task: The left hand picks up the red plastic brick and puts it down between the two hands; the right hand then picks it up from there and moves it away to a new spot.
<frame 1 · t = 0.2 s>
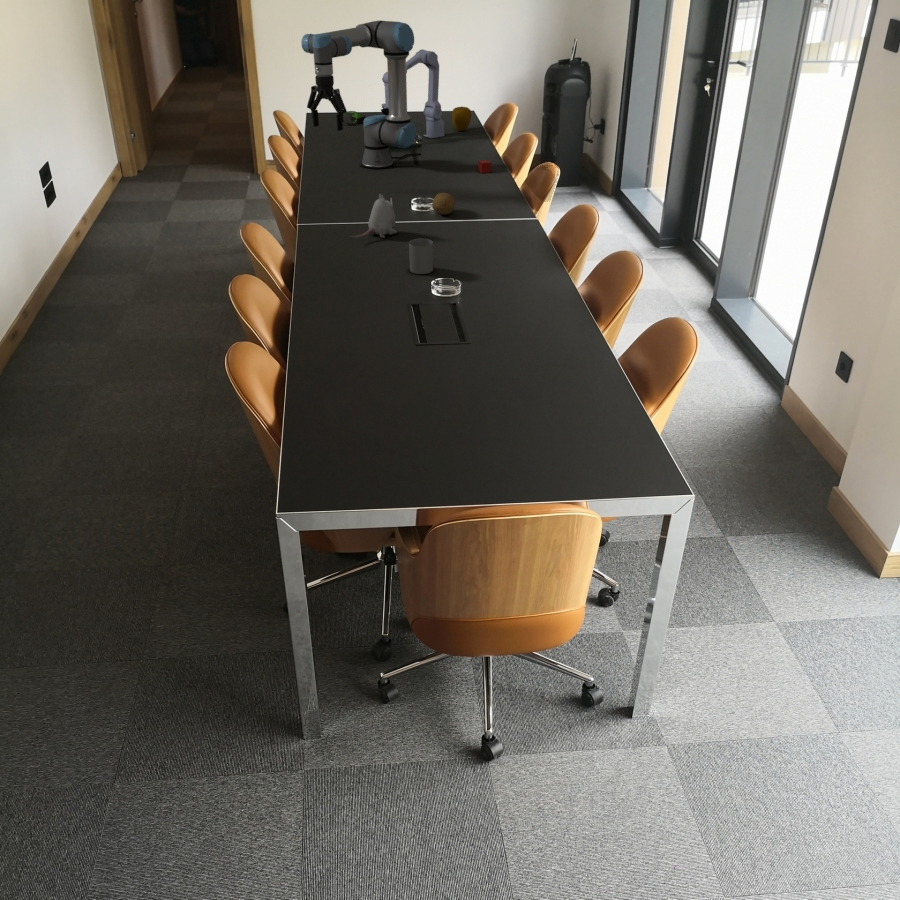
left hand: (328, 128, 373), 28 cm above the table, tool pointing down, fingers open, 13 cm apart
right hand: (391, 124, 460), 10 cm above the table, tool pointing down, fingers open, 7 cm apart
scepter: (367, 123, 507), on the table
toy: (373, 238, 337), on the table
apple: (461, 130, 491), on the table
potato: (443, 213, 363), on the table
cup: (421, 270, 308), on the table
brick: (484, 171, 418), on the table
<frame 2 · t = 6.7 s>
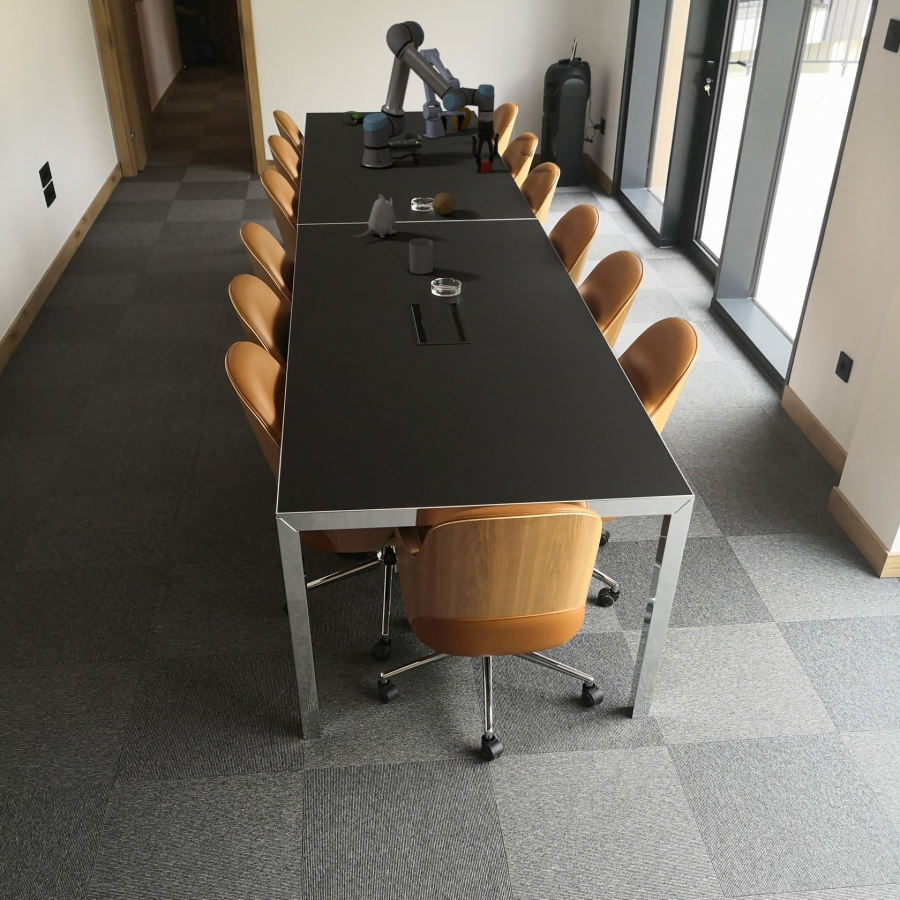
left hand: (484, 170, 418), 0 cm above the table, tool pointing down, fingers closed on brick, 5 cm apart
right hand: (452, 130, 463), 6 cm above the table, tool pointing down, fingers open, 7 cm apart
brick: (484, 171, 418), on the table, touching left hand
everything else where it was.
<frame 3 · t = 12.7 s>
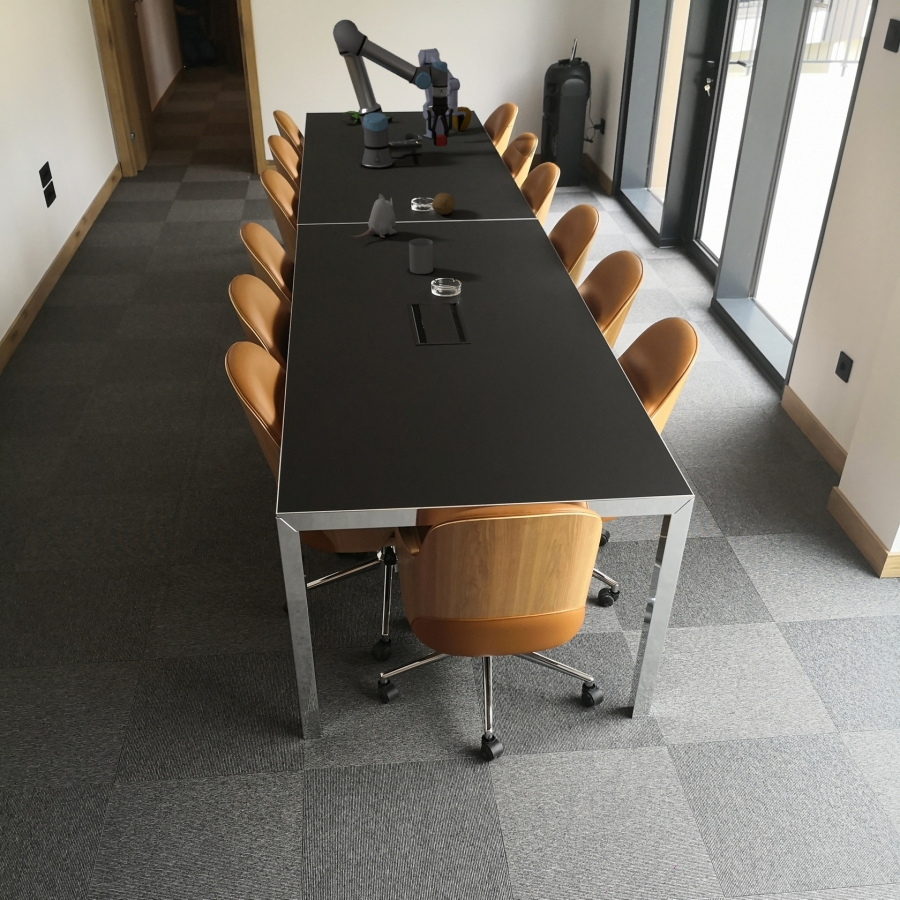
left hand: (440, 144, 440), 6 cm above the table, tool pointing down, fingers closed on brick, 5 cm apart
right hand: (452, 130, 463), 6 cm above the table, tool pointing down, fingers open, 7 cm apart
brick: (440, 145, 440), point 5 cm above the table, touching left hand
everything else where it was.
when the left hand's fingers open (1 cm above the table, at t = 18.9 s): brick stays where it is, on the table.
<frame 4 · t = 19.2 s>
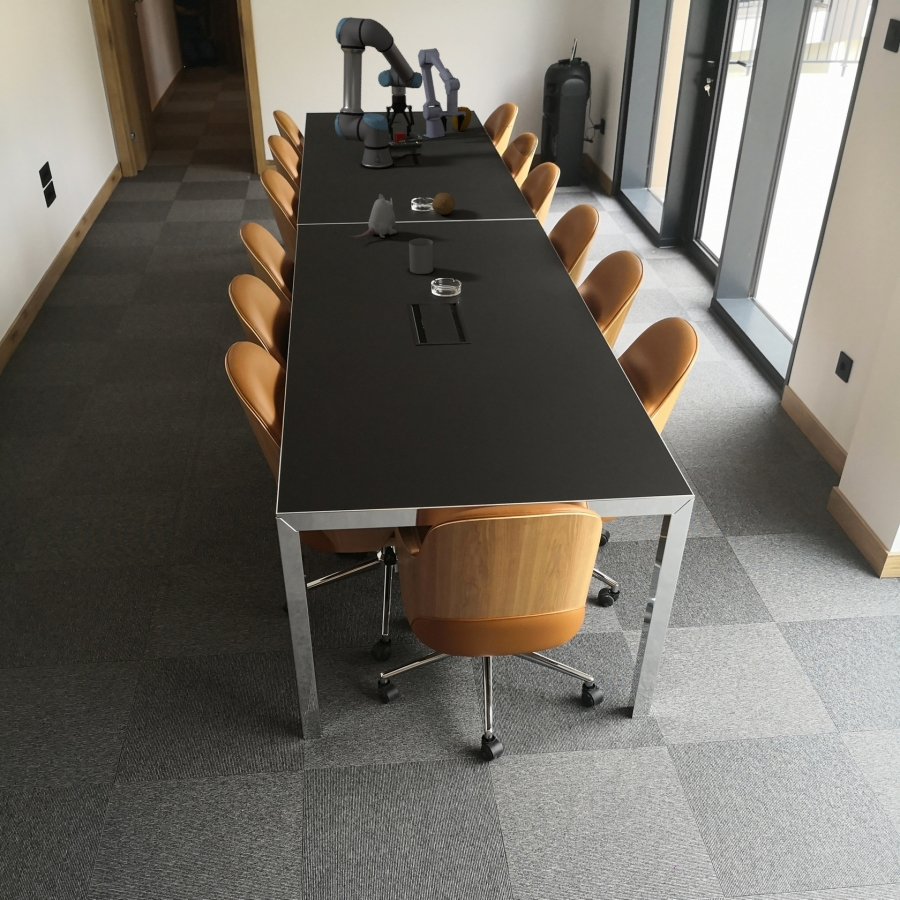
left hand: (400, 139, 467), 1 cm above the table, tool pointing down, fingers open, 8 cm apart
right hand: (452, 130, 463), 6 cm above the table, tool pointing down, fingers open, 7 cm apart
brick: (400, 142, 468), on the table
everything else where it was.
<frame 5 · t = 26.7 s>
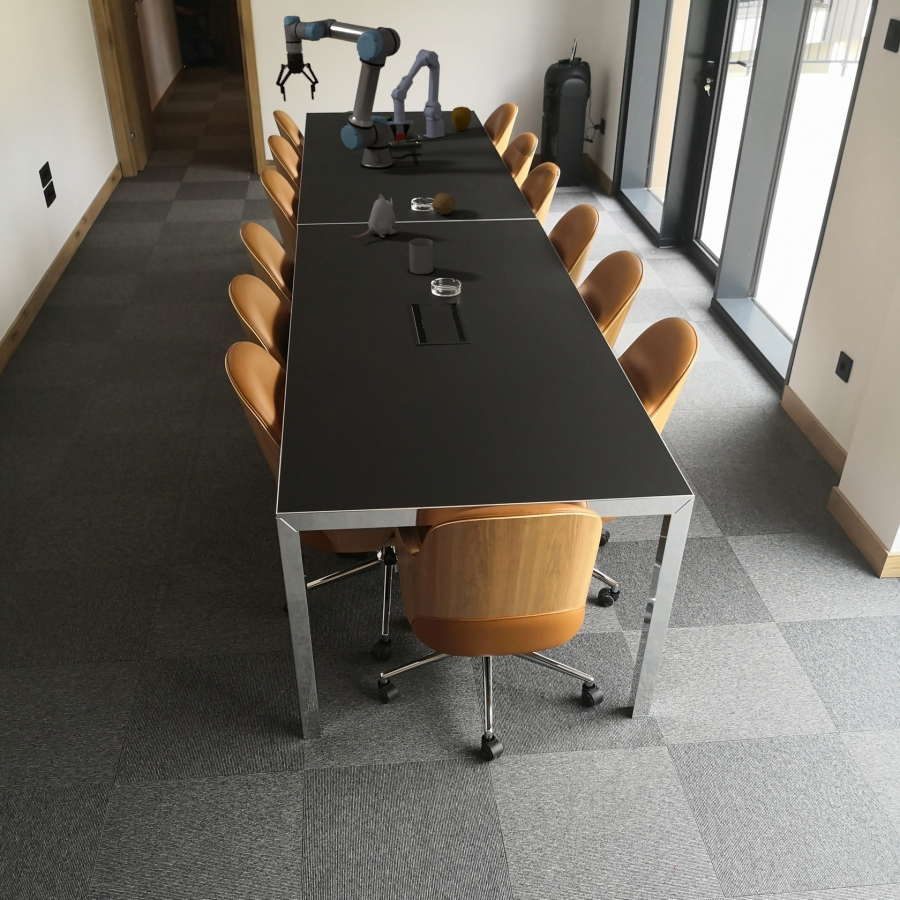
left hand: (298, 100, 420), 28 cm above the table, tool pointing down, fingers open, 13 cm apart
right hand: (400, 139, 467), 1 cm above the table, tool pointing down, fingers closed on brick, 5 cm apart
brick: (400, 141, 468), on the table, touching right hand
everything else where it was.
when the right hand's fingers open (2 cm above the table, at t = 32.9 s): brick stays where it is, on the table.
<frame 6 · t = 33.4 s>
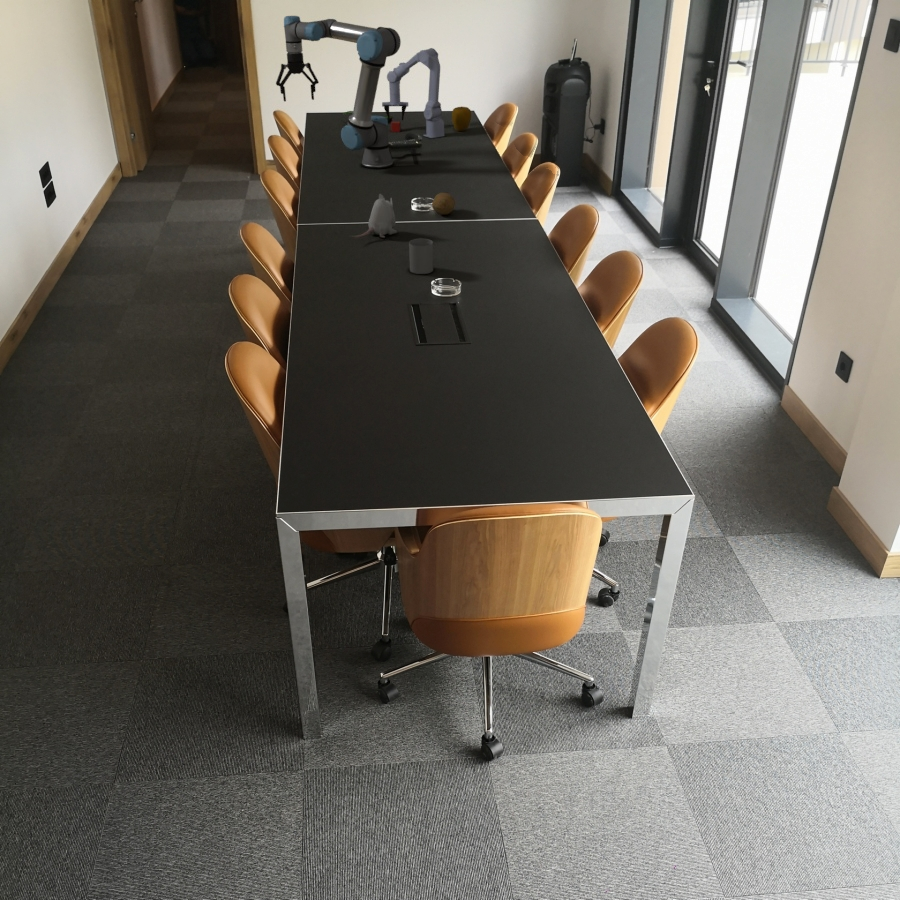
left hand: (298, 100, 420), 28 cm above the table, tool pointing down, fingers open, 13 cm apart
right hand: (395, 119, 487), 6 cm above the table, tool pointing down, fingers open, 7 cm apart
brick: (396, 130, 490), on the table
everything else where it was.
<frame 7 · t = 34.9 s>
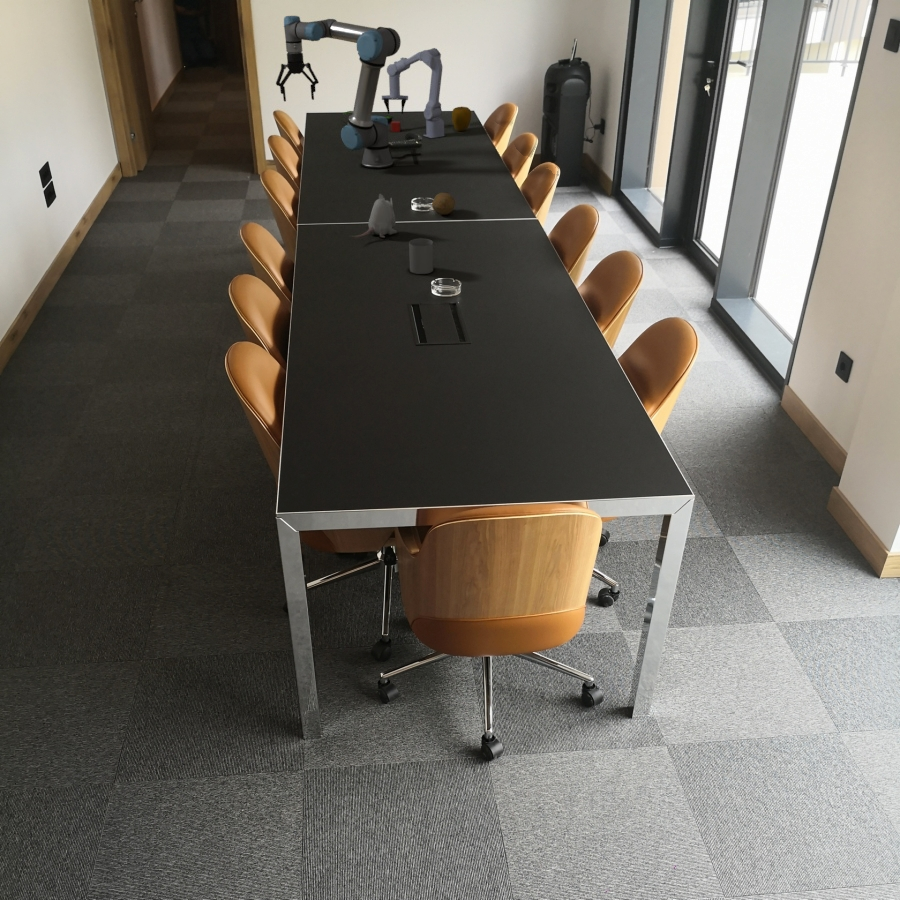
left hand: (298, 100, 420), 28 cm above the table, tool pointing down, fingers open, 13 cm apart
right hand: (395, 113, 485), 9 cm above the table, tool pointing down, fingers open, 7 cm apart
nothing on the table moved.
at the end: brick inside the target area (0.1 cm from its centre), on the table; brick tilted 0°; the two hands never held the brick at the same time; the left hand is holding nothing; the right hand is holding nothing; brick at rest at the end (0.0 cm/s) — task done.
